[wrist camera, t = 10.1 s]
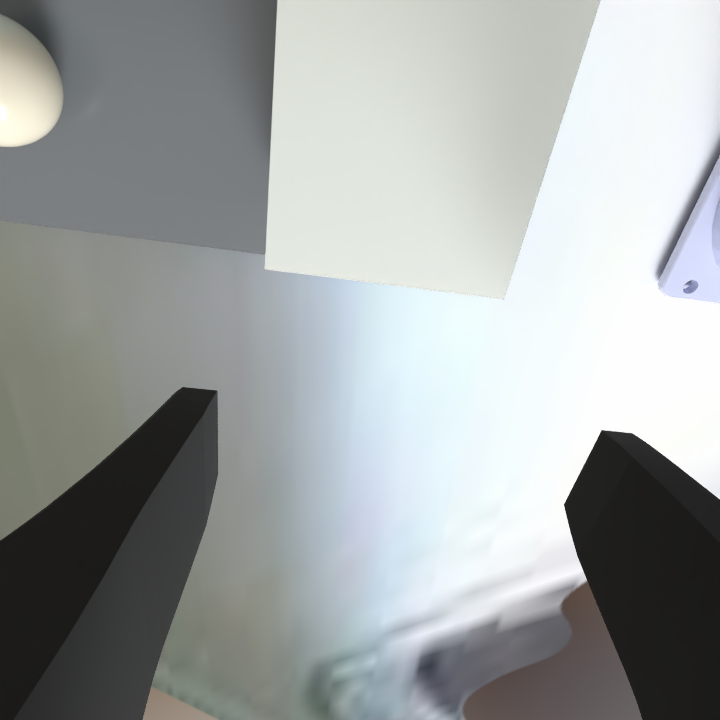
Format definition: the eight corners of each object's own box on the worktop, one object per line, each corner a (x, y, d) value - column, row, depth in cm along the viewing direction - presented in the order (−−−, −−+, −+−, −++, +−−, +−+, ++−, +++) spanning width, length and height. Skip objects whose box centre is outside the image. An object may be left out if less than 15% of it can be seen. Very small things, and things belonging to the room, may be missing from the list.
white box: (559, -137, 12) (672, -224, 8) (465, 229, 16) (504, 299, 12) (313, -186, 11) (291, -310, 7) (287, 205, 16) (264, 269, 12)
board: (595, -216, 12) (617, -238, 11) (466, 267, 18) (472, 281, 17) (-256, -402, 10) (-321, -447, 9) (-75, 196, 17) (-102, 207, 16)
